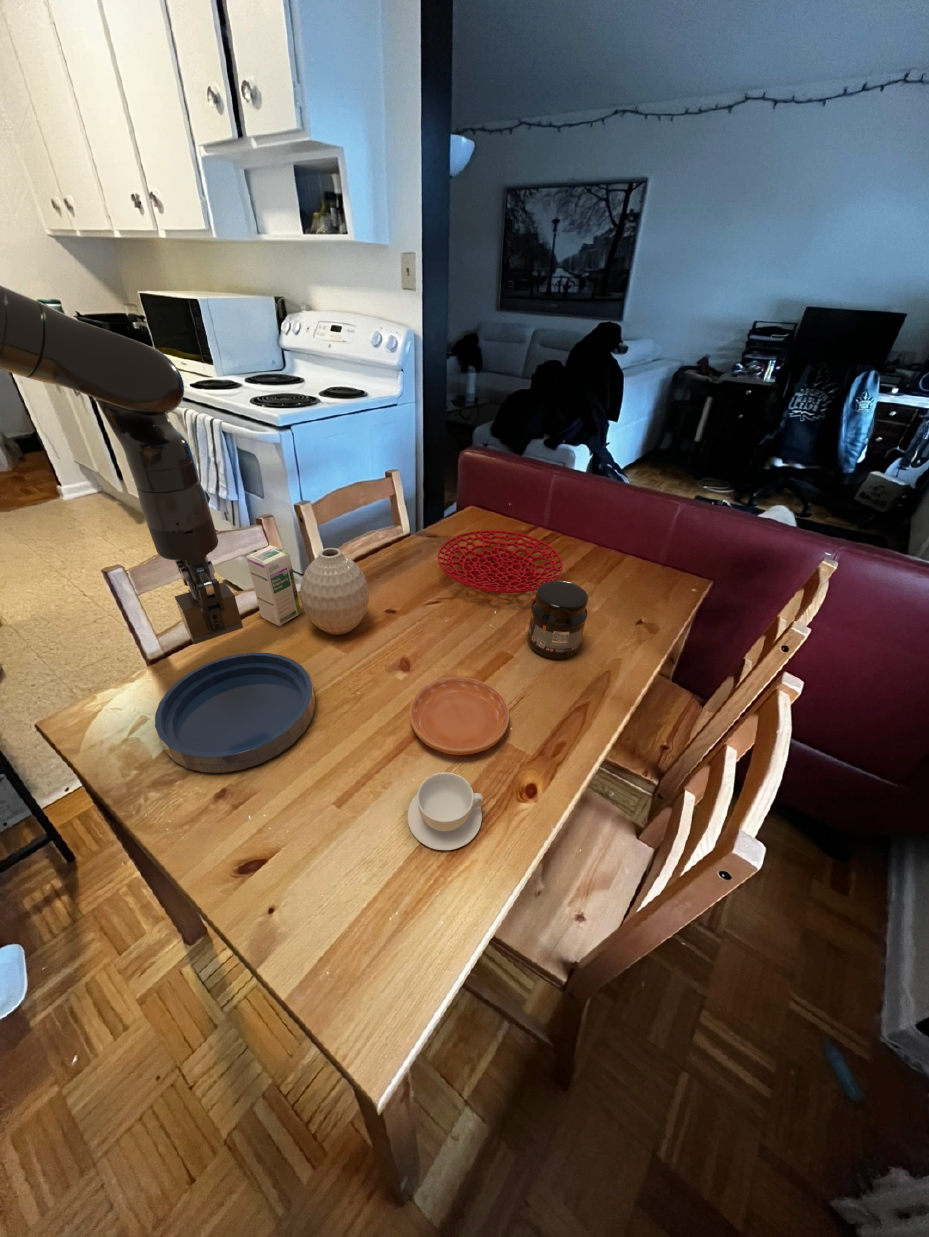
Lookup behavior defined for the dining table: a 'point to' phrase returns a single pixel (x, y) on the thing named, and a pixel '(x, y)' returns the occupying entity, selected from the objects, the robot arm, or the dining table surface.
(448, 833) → the teacup
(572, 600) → the supplement container
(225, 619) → the dark brown block
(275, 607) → the syrup box
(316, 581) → the vase
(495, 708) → the saucer
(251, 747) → the glazed bowl
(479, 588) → the bowl
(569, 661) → the dining table surface
